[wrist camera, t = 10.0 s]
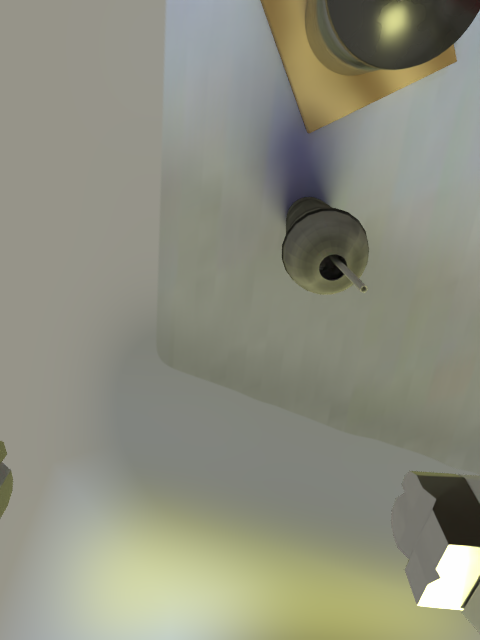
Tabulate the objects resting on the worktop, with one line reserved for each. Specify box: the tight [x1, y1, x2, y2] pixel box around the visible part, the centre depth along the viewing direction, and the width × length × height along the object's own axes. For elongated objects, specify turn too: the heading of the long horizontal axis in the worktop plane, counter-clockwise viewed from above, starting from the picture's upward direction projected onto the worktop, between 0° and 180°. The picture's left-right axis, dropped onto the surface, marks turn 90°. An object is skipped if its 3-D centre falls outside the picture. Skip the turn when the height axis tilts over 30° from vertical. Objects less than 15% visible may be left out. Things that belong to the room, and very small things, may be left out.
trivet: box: [261, 0, 457, 133], centre depth 36 cm, size 14×14×2 cm
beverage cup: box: [282, 197, 369, 294], centre depth 36 cm, size 7×7×20 cm
